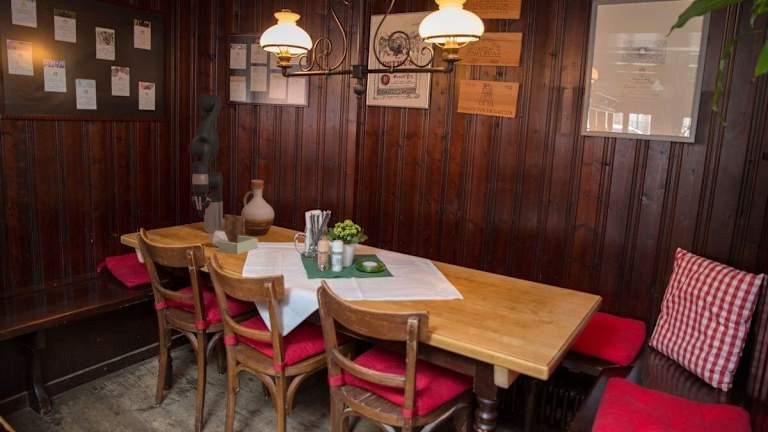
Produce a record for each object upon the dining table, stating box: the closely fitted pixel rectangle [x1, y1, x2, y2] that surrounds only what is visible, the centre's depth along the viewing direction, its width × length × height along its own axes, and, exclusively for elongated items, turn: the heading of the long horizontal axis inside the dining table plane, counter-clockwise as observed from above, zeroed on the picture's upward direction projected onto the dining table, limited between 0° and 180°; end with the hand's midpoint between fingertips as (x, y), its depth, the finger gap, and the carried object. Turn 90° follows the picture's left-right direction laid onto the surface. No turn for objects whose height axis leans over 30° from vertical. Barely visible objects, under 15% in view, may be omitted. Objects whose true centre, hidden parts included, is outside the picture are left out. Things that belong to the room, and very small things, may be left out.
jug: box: [240, 179, 275, 237], centre depth 315 cm, size 20×18×30 cm
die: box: [208, 230, 228, 248], centre depth 286 cm, size 8×9×10 cm
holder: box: [217, 235, 259, 255], centre depth 281 cm, size 12×15×5 cm
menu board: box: [224, 213, 246, 243], centre depth 295 cm, size 12×5×14 cm, turn 65°
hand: (201, 216), depth 289 cm, fingers closed
